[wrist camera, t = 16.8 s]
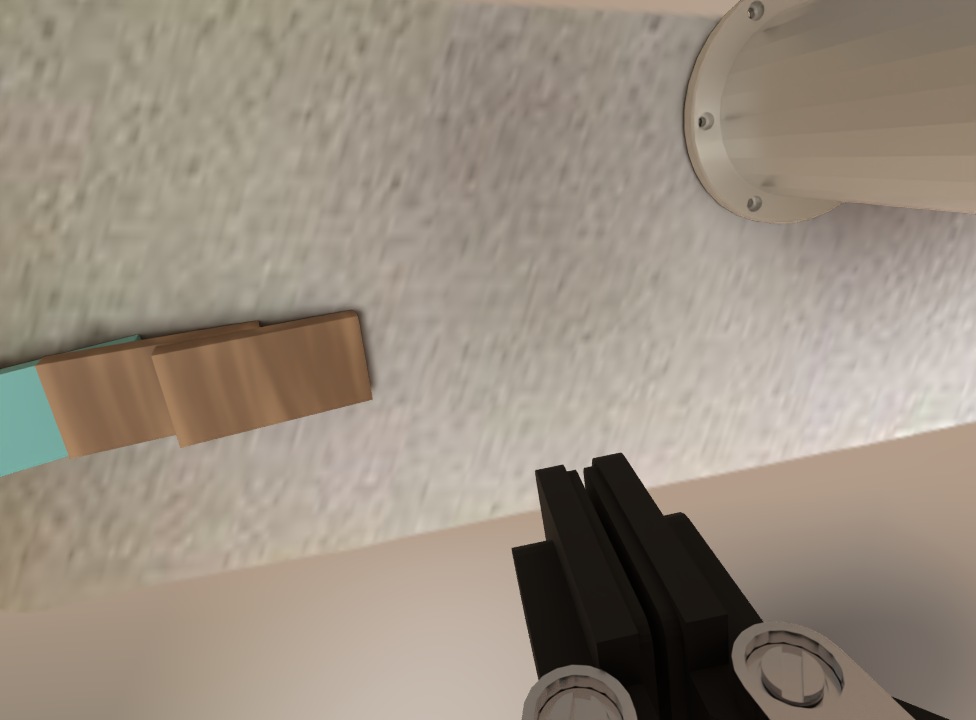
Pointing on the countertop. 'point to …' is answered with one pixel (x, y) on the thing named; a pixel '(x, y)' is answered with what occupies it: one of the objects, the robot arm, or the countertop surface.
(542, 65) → the countertop surface
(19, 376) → the domino
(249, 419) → the domino
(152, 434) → the domino
